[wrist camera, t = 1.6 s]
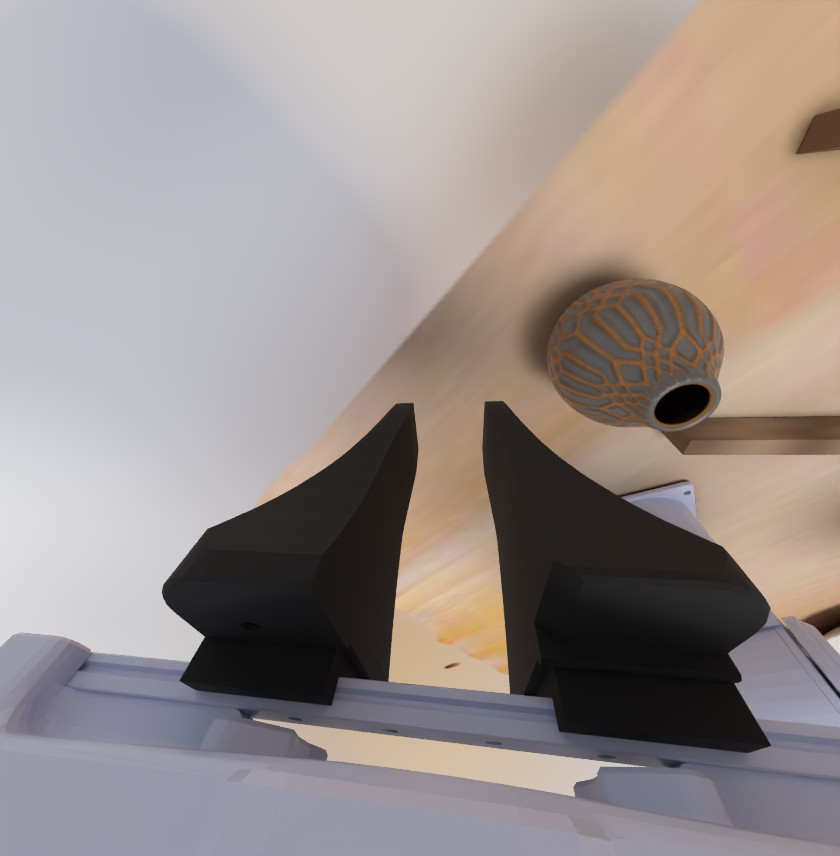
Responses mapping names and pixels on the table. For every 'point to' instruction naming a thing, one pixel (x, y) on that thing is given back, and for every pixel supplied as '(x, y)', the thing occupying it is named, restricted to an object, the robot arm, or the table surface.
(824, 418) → the tray
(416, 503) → the table surface
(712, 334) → the vase
